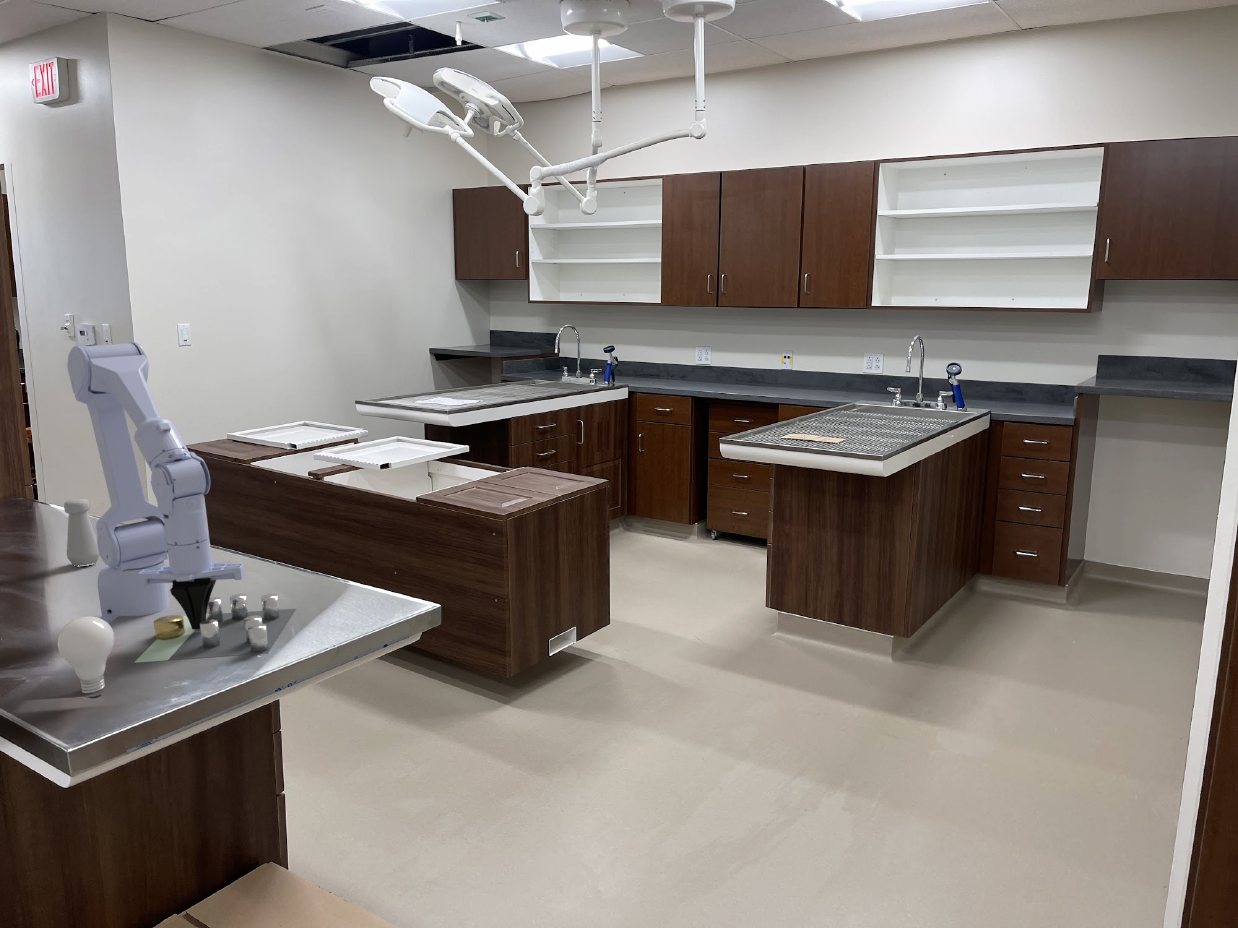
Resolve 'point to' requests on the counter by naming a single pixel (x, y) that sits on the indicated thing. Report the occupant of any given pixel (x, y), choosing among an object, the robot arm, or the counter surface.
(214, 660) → the counter surface
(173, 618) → the gold disc
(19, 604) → the counter surface
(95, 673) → the lightbulb
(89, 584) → the counter surface
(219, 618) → the spacers
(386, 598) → the counter surface
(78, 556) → the salt shaker
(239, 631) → the mat
